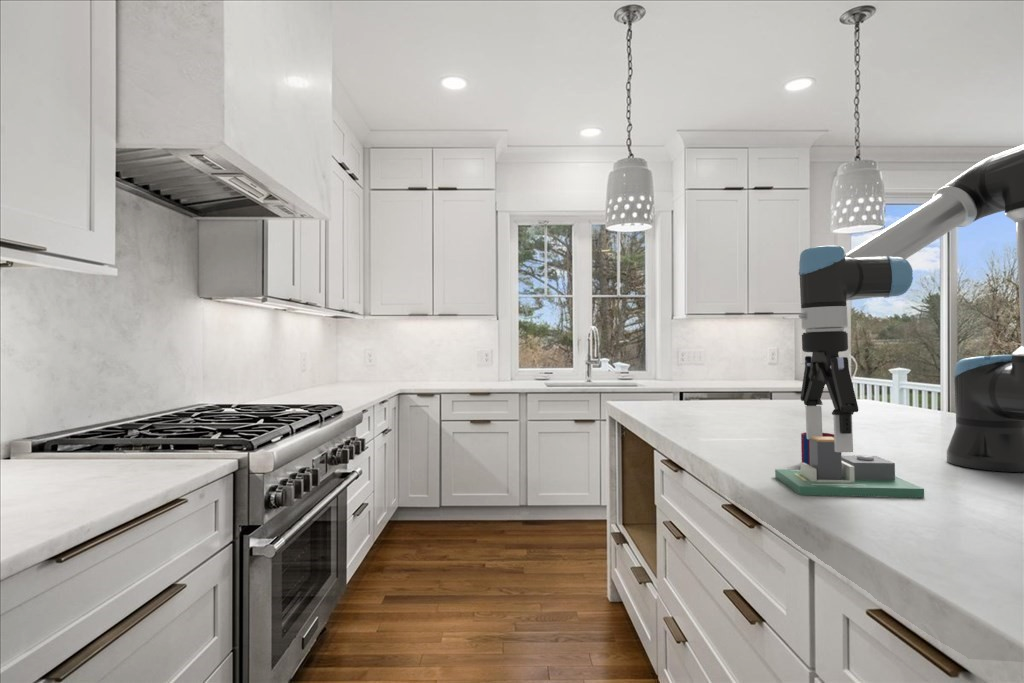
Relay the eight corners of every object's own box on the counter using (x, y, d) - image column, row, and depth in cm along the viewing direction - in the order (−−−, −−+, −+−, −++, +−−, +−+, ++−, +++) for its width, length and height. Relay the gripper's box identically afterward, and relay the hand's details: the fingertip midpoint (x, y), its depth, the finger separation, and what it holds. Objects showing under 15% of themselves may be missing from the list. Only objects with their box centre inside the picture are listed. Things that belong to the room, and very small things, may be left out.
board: (883, 478, 113) (883, 456, 113) (924, 497, 99) (923, 472, 99) (775, 476, 116) (774, 455, 116) (799, 494, 102) (799, 470, 102)
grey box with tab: (876, 471, 113) (876, 453, 113) (895, 479, 106) (894, 460, 106) (837, 470, 114) (837, 452, 114) (853, 479, 107) (853, 460, 107)
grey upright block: (835, 475, 110) (834, 436, 110) (844, 480, 106) (843, 439, 106) (809, 475, 110) (809, 436, 110) (818, 480, 106) (817, 439, 106)
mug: (833, 463, 128) (833, 432, 128) (842, 473, 118) (841, 440, 118) (800, 462, 130) (799, 431, 130) (805, 471, 121) (805, 438, 121)
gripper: (781, 332, 121) (785, 434, 121) (829, 330, 96) (834, 458, 96) (819, 331, 120) (823, 434, 120) (878, 328, 95) (883, 458, 95)
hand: (828, 445), depth 108 cm, fingers open, 13 cm apart
